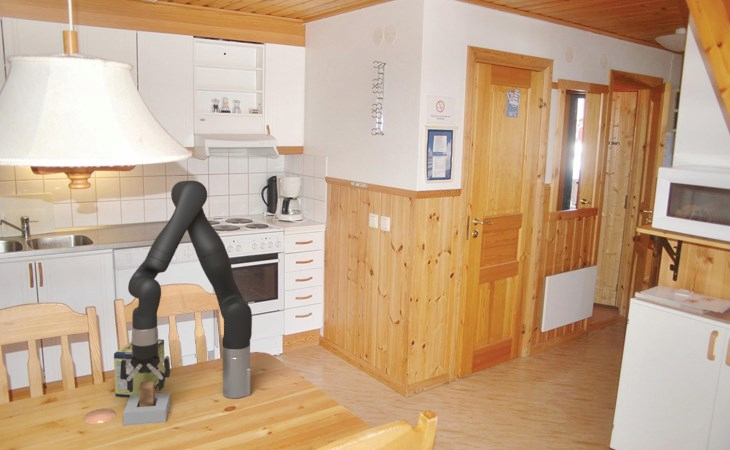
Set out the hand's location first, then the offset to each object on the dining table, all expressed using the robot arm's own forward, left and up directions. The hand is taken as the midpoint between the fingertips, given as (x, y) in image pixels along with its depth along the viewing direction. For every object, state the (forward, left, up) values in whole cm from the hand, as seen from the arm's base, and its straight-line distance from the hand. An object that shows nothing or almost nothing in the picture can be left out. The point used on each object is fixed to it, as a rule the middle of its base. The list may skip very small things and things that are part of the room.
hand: (145, 390), depth 176 cm
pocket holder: (0, 0, -8) cm, 8 cm away
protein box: (+5, -20, -9) cm, 22 cm away
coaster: (+14, -1, -8) cm, 16 cm away
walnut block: (0, 0, -8) cm, 8 cm away
